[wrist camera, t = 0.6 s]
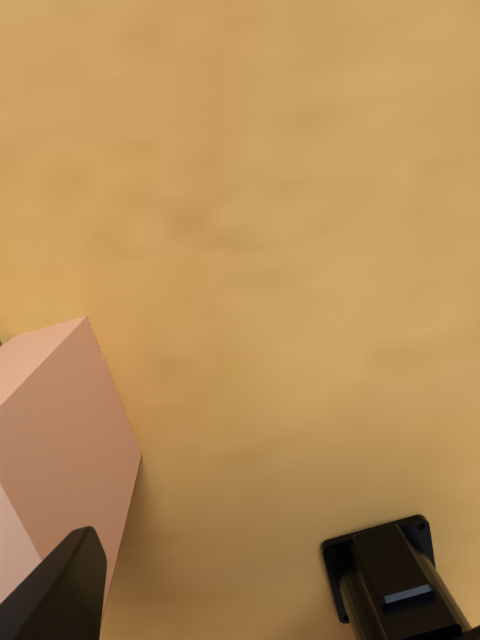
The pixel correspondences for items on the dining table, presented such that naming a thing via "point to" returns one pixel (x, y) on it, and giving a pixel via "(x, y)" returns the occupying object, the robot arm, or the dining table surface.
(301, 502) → the dining table surface
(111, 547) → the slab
